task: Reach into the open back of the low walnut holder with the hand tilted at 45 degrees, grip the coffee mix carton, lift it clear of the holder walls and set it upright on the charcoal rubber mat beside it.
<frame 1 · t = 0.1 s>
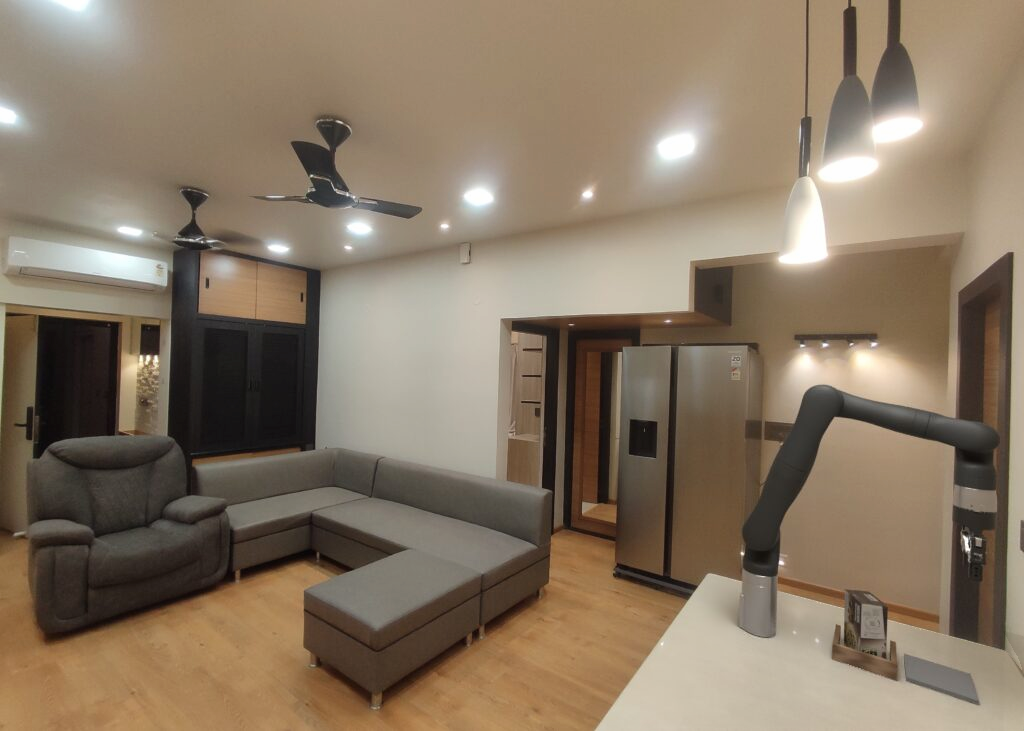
hand: (972, 574, 112), 29 cm above the table, tool pointing down, fingers open, 8 cm apart
walnut holder: (863, 657, 127), on the table
charcoal mat: (938, 679, 118), on the table
coffee box: (863, 657, 127), on the table
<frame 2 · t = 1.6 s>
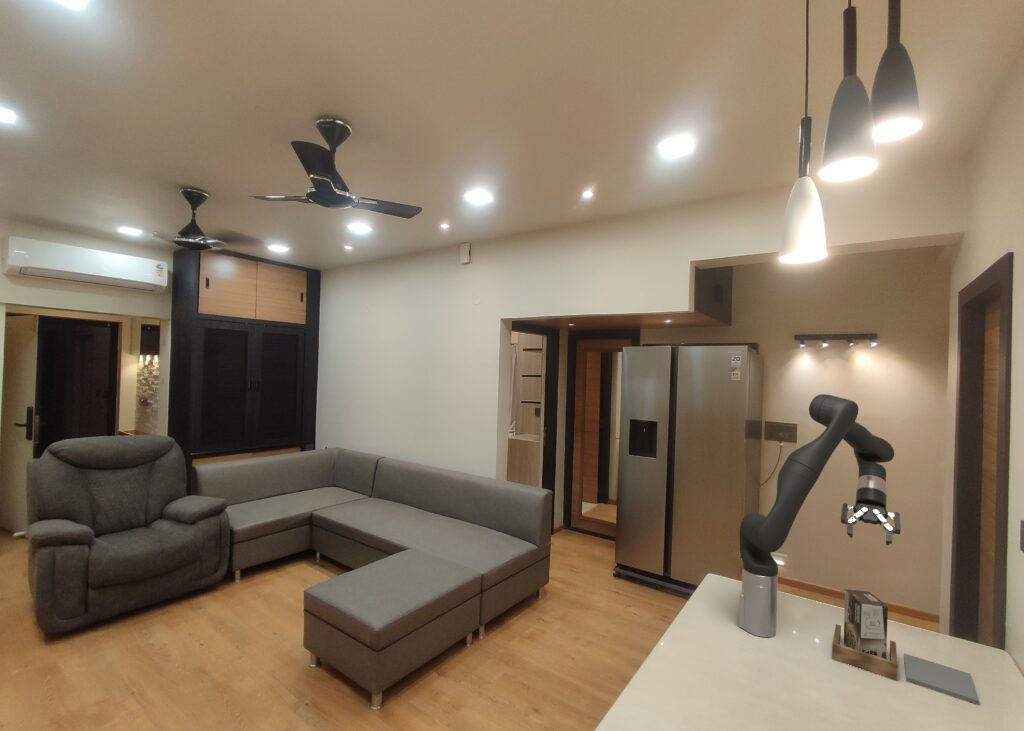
hand: (868, 540, 138), 28 cm above the table, tool tilted 45°, fingers open, 8 cm apart
nothing on the table moved.
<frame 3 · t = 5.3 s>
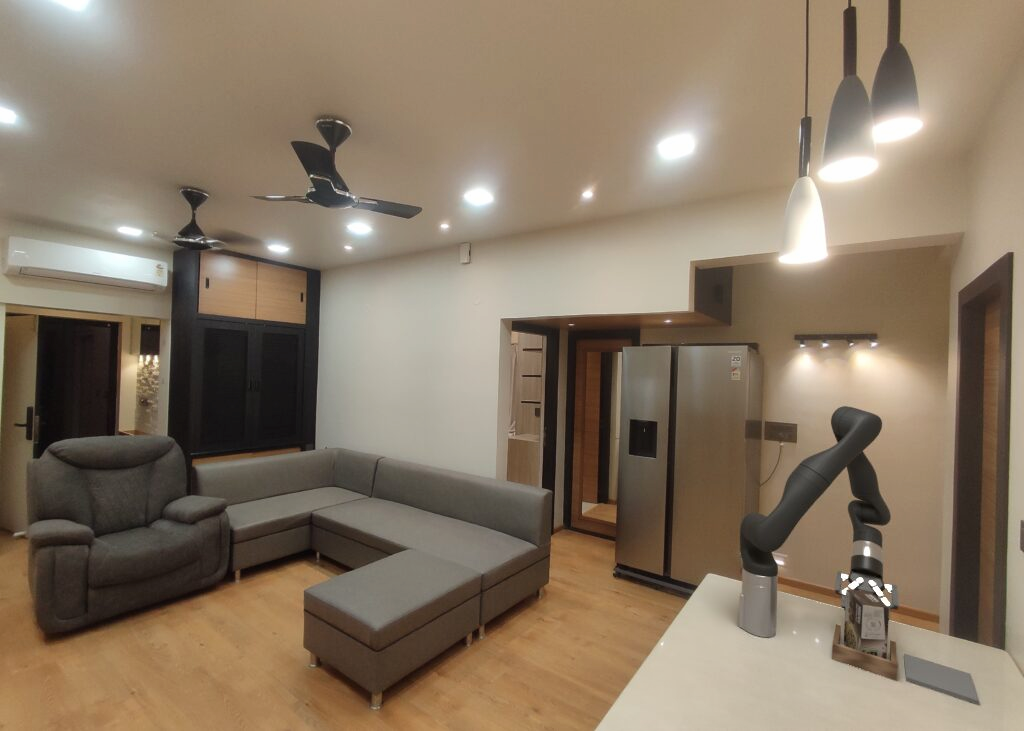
hand: (864, 615, 129), 10 cm above the table, tool tilted 45°, fingers open, 8 cm apart
coffee box: (863, 657, 127), on the table, touching gripper
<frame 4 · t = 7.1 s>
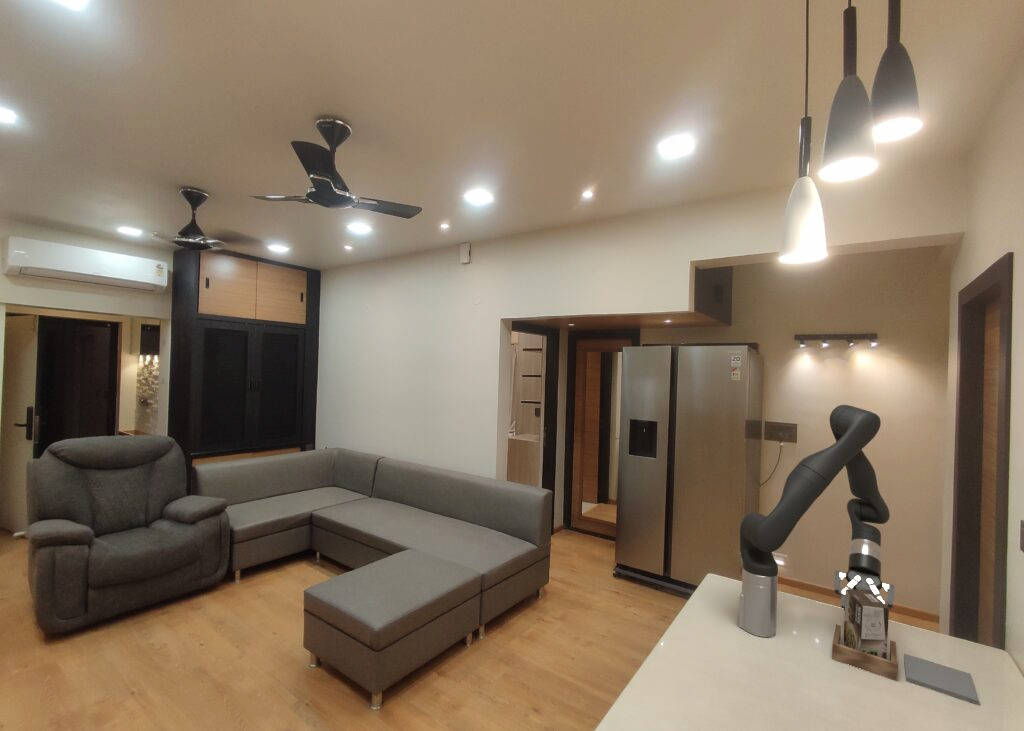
hand: (861, 614, 129), 10 cm above the table, tool tilted 45°, fingers closed on coffee box, 7 cm apart
coffee box: (863, 656, 127), on the table, touching gripper
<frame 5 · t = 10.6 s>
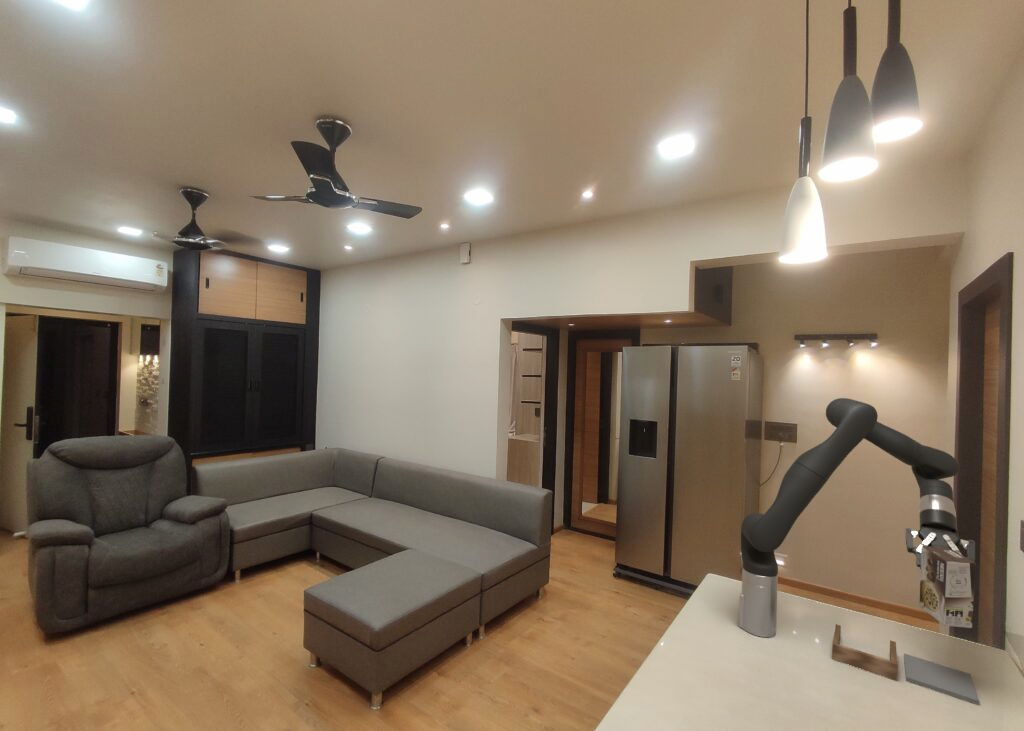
hand: (940, 572, 120), 26 cm above the table, tool tilted 45°, fingers closed on coffee box, 6 cm apart
coffee box: (944, 617, 118), point 16 cm above the table, touching gripper
when the fingers open (11 cm above the table, at t = 13.9 s): coffee box stays where it is, resting on charcoal mat.
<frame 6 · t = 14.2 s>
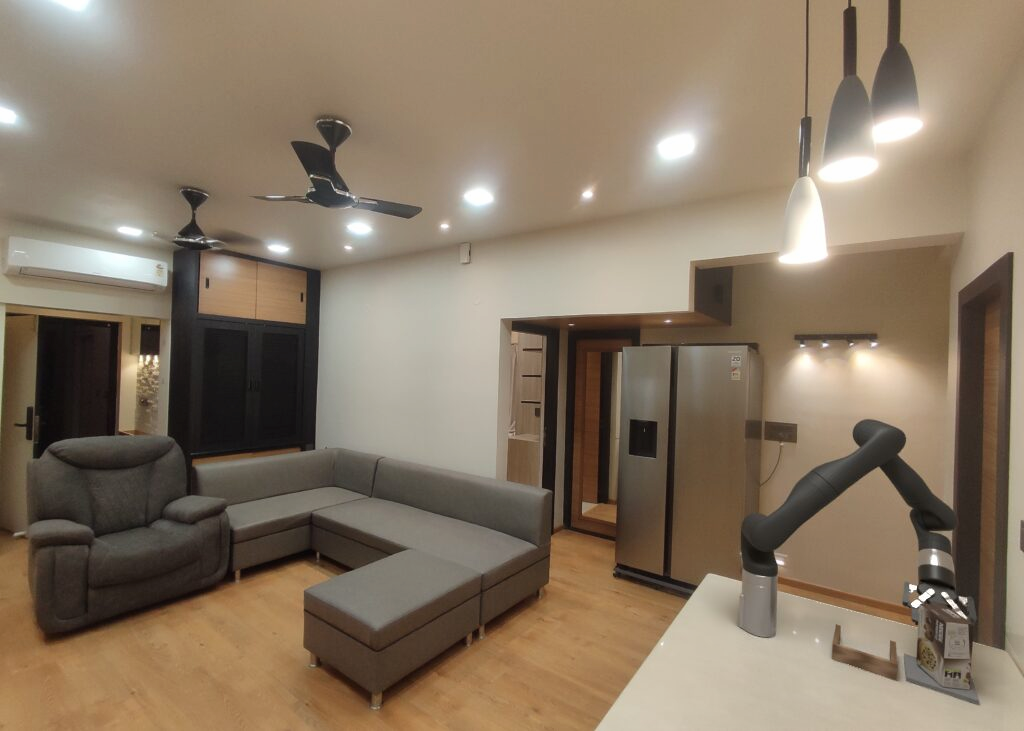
hand: (939, 630, 120), 12 cm above the table, tool tilted 45°, fingers open, 8 cm apart
coffee box: (941, 676, 118), point 1 cm above the table, touching charcoal mat, gripper
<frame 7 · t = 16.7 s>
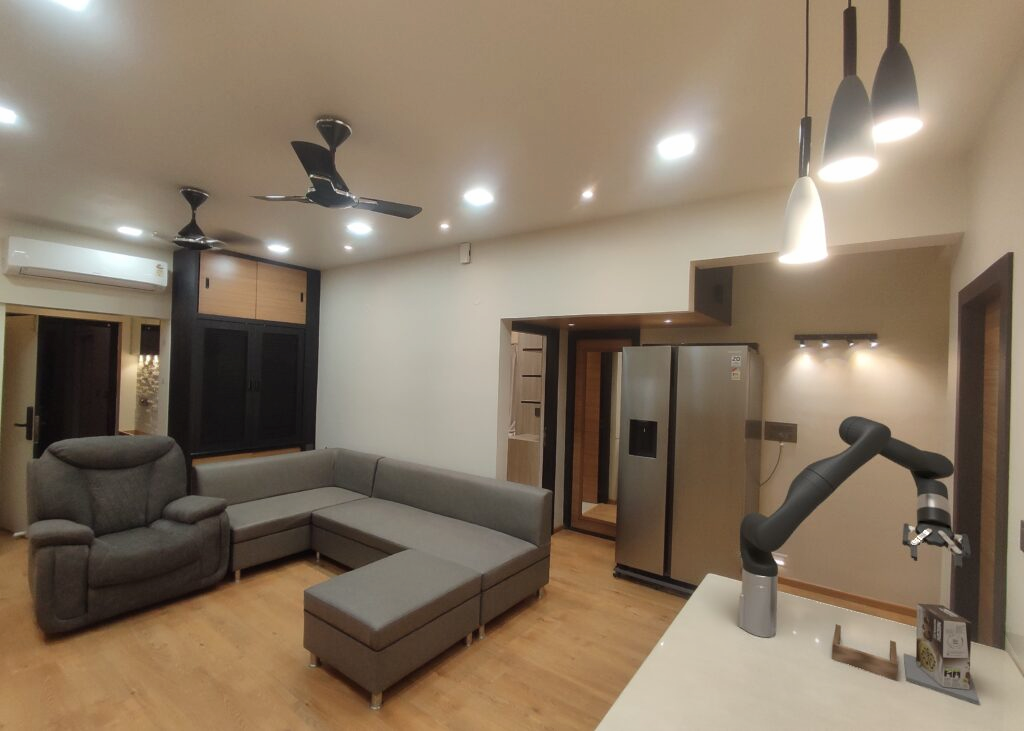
hand: (936, 563, 130), 25 cm above the table, tool tilted 45°, fingers open, 8 cm apart
coffee box: (941, 677, 118), point 1 cm above the table, touching charcoal mat
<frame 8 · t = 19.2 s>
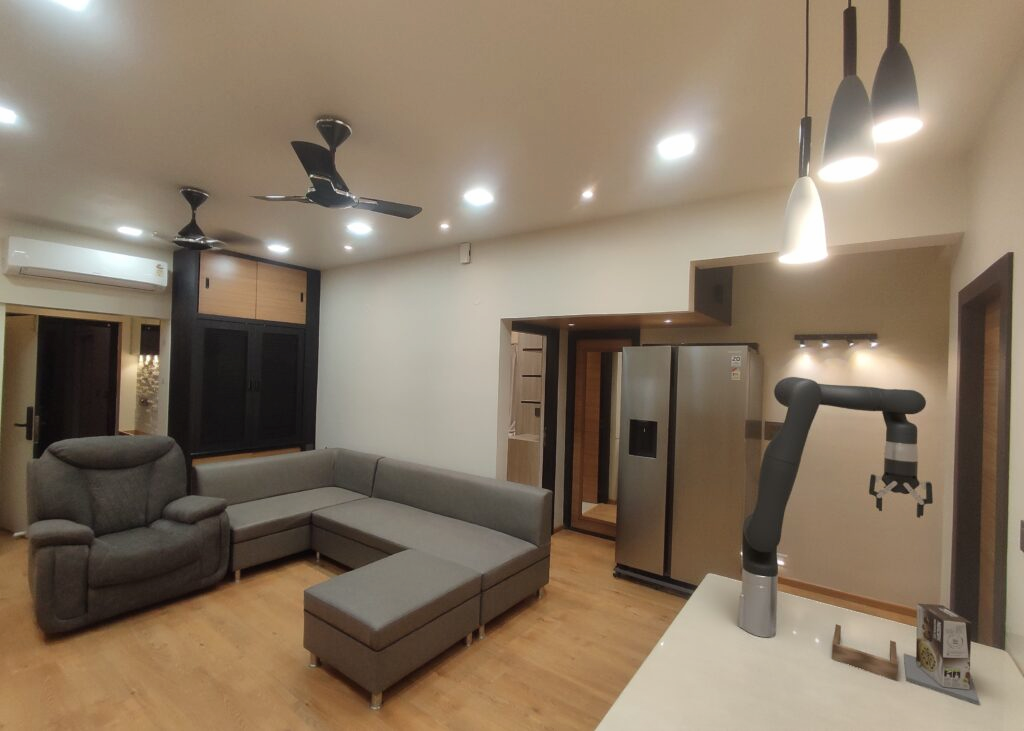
hand: (899, 513, 137), 36 cm above the table, tool pointing down, fingers open, 8 cm apart
nothing on the table moved.
at the end: coffee box inside the target area on the charcoal mat (0.6 cm from its centre), point 0.8 cm above the charcoal mat's base; coffee box tilted 0°; the gripper is holding nothing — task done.
